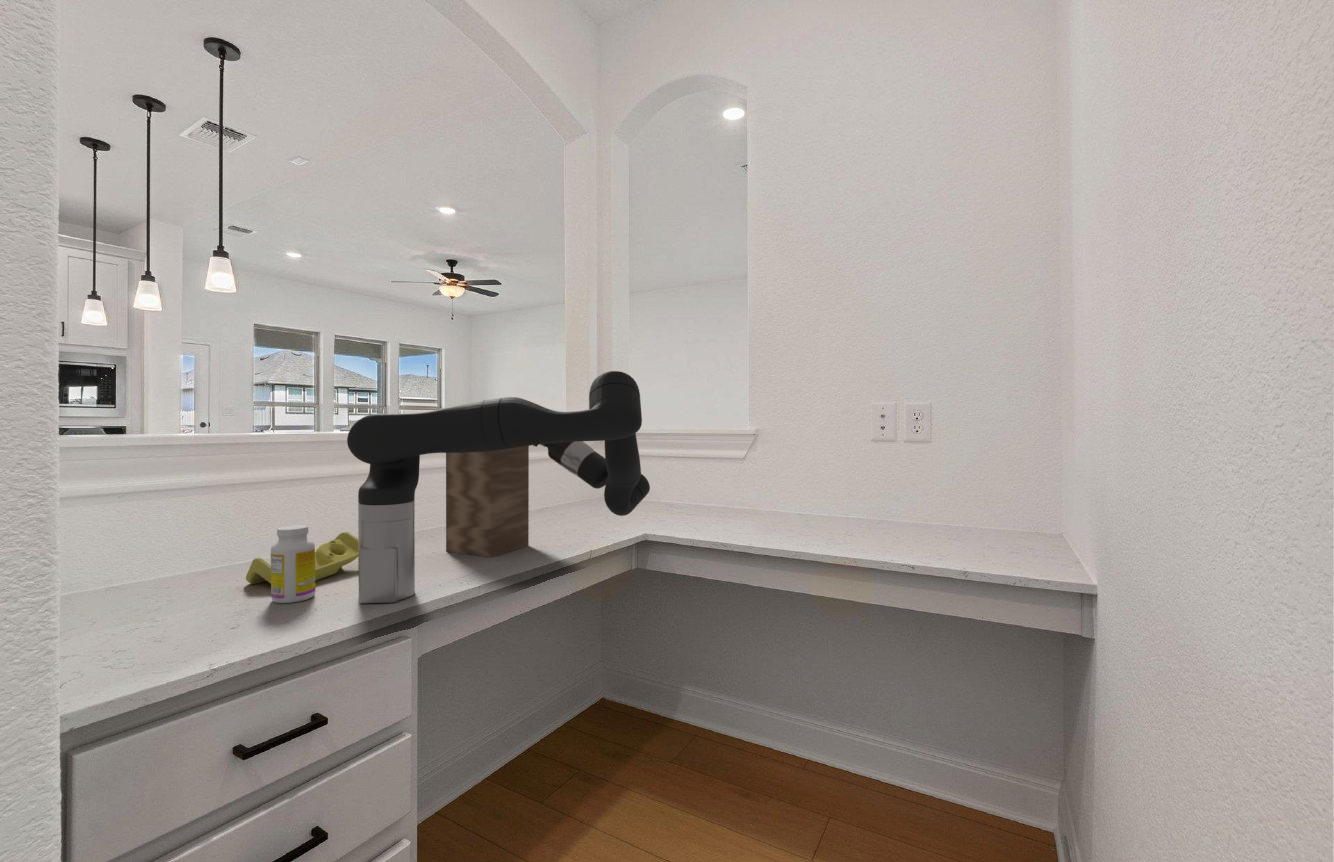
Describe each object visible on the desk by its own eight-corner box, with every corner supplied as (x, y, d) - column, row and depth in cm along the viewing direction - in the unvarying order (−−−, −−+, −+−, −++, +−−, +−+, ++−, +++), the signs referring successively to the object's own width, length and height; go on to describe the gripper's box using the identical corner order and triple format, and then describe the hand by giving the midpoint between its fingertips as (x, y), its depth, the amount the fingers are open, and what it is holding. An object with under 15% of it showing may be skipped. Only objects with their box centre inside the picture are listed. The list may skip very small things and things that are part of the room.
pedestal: (528, 545, 148) (528, 428, 147) (491, 557, 135) (491, 429, 134) (485, 540, 153) (485, 428, 153) (446, 551, 140) (445, 428, 140)
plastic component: (285, 580, 107) (250, 553, 109) (276, 613, 108) (242, 585, 111) (373, 550, 125) (341, 527, 128) (364, 578, 127) (332, 555, 129)
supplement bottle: (319, 591, 107) (318, 523, 107) (310, 602, 101) (310, 529, 101) (277, 595, 105) (276, 525, 105) (265, 606, 99) (265, 531, 98)
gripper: (548, 470, 128) (497, 432, 133) (582, 465, 141) (535, 431, 146) (562, 441, 126) (510, 404, 132) (595, 439, 139) (547, 406, 145)
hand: (523, 419), depth 139 cm, fingers open, 7 cm apart
